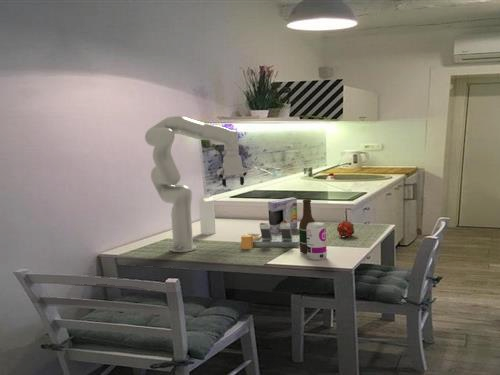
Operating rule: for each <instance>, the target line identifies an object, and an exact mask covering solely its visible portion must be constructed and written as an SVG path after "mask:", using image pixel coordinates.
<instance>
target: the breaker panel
mask: <svg viewBox="0 0 500 375" xmlns="http://www.w3.org/2000/svg"><path fill="white" fill-rule="evenodd" d="M245 235H253V247H258V248H259V247H261V248H263V247H264V248H299V247H300V239H299V235H292V239H282V234H281V235H276V234H273V233H271V235H272V236H271V237H272V239H262V235H261V233H246V234H245ZM240 246H241V247H242V244H241V243H240ZM298 246H299V247H298Z"/></svg>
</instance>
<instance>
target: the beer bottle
mask: <svg viewBox="0 0 500 375" xmlns="http://www.w3.org/2000/svg"><path fill="white" fill-rule="evenodd" d="M311 200H312V199H311V198H310V199H308V198H305V199H303V200H302V203H303V205H302V206H303V208H302V217H301V219H300V221H299V224H298V225H299V226H298V232H299V234H298V236H299V239H300V245H299V251H300V253H302V254H306V255H307V229H306V227H307V225H308V223H311V222H316V220H315V219H314V217H313V215H312V206H311V202H312V201H311Z"/></svg>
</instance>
